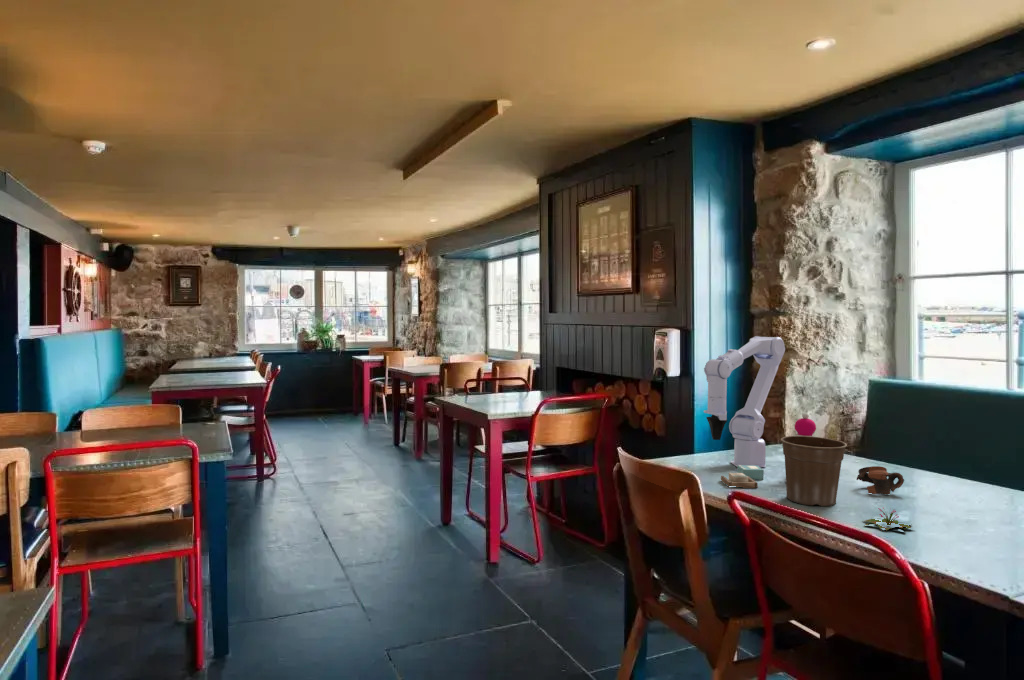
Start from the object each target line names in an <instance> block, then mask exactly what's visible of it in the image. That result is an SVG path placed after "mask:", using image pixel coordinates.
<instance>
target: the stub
mask: <svg viewBox="0 0 1024 680" xmlns="http://www.w3.org/2000/svg"><path fill="white" fill-rule="evenodd" d="M728 480H729V481H731V482H748V476H746V475H745V474H743V473H737V472H728Z"/></svg>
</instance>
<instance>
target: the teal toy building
mask: <svg viewBox="0 0 1024 680" xmlns="http://www.w3.org/2000/svg"><path fill="white" fill-rule="evenodd" d="M736 471H737V472H736V473H743V474H745V475H746V476H749V477H750V478H751V479H753V480H754V481H756V480H758V481H759V480H761V481H762V480H764V479H765V477H764V475H765V474H764V473H765V472H764V469H763V467H759V466H757V465H738V466H737V470H736Z"/></svg>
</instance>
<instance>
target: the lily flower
mask: <svg viewBox="0 0 1024 680" xmlns="http://www.w3.org/2000/svg"><path fill="white" fill-rule="evenodd" d="M882 509H883V510H884V511H883V510H882ZM882 509H881V508H880V507H878V508H877V510H879V512H882V513H883V514H881V513H879V516H880V517H881V519H882V522H886V523H887V525H890V526H891V523H895V524H898V523H900V522H899V520H897V519H898V518H899V517H900V516H899V515H898V513H897V514H894V513H896V512H897V511H896V509H893V510H892V511H891V512H890V511H889V512H888V510H887V511H885V510H886V509H885V508H884V507H882ZM889 509H890V510H891V507H890V508H889ZM888 514H889V515H888ZM883 515H884V516H883ZM893 515H894V516H893ZM890 520H891V521H890ZM892 520H893V521H892ZM863 521H864V522H865V523H866V524H865V525H868V524H876V522H881V521H879V520H875V519H872V518H869V519H866V520H863ZM889 523H890V524H889ZM887 525H886V526H887ZM899 525H900V526H902V527H899V528H901V529H904V528H903V527H907V528H906V530H909V529H908V528H912V527H911V526H908V525H904V524H899ZM876 526H877V527H879V528H878V529H880V530H881V528H885V527H886V526H884V527H882V526H883V525H882V526H880V525H878V524H877V525H876ZM885 529H886V531H888V530H889V529H891V527H886V528H885Z"/></svg>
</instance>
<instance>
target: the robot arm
mask: <svg viewBox="0 0 1024 680" xmlns="http://www.w3.org/2000/svg"><path fill="white" fill-rule="evenodd" d="M785 351H786V346H785V342H784V340H783V339H782V337H779V336H776V337H775V336H774V337H773V336H769V337H768V336H758V335H756V336H753V337H751V338H749V340H748V342H747V343H746V344H744V345H743V346H741V347H740V348H739V349H731V348H729V349H727V352H725V353H724V354H722V355H721V354H720V355H718V357H717V358H716V359H714V358H711V359H709V360H707V361H706V363H705V366H704V368H703V372H704V374H705V376H706V381H707V409H705V410H703V413H704V414H708V415H711V416H706V420H707V423H708V424H709V428H710V429H709V430H710V433H711V438H712V440H713V441H714V440H715V441H720V440H721V437H722V435H723V430H724V427H725V426H726V423H727V422H728V418H727V416H728V415H727V413H728V411H727V393H728V391H727V389H728V388H727V387H728V385H727V384H728V383H727V382H728V381H727V380H728V378H729V377H730V376H731V373H732V372H733V371H734V370H735V369H737V368H738V367H740V366H742V365H743V363H744V360H746V359H747V358H750V357H752V356H753V358H754V359H755V362H756V363H757V364H759V365H760V367H759V370H758V372H757V375H756V378H755V379H754V382H753V385H752V387H751V390H750V392H749V395H748V397H747V400H746V402H745V405H744V407H743V408H740V409H739V410H737V411H735V414H734V416H733V417H732V418H731V420H730V421H729V423H728V424H729V425H728V428H729V432H730V433H731V434H732V438H734V447H733V448H734V450H733V451H734V452H733V453H734V454H733V460H729V463H731V464H732V465H734V466H735V467H737V466H738V465H757V466H759V467H760V468H766V467H767V465H766V441H765V440H764V439H763V438H762V436H763V434H764V426H765V423H766V419H765V417H764V416H763V415H762V414H761V413H762V410H763V409H764V406H765V403H766V400H767V398H768V395H769V393H770V389H771V388H772V385H773V383H774V380H775V377H776V375H777V372H778V371H779V365H780V364H781V362H782V359H783V357H784V354H785V353H786V352H785Z"/></svg>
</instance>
